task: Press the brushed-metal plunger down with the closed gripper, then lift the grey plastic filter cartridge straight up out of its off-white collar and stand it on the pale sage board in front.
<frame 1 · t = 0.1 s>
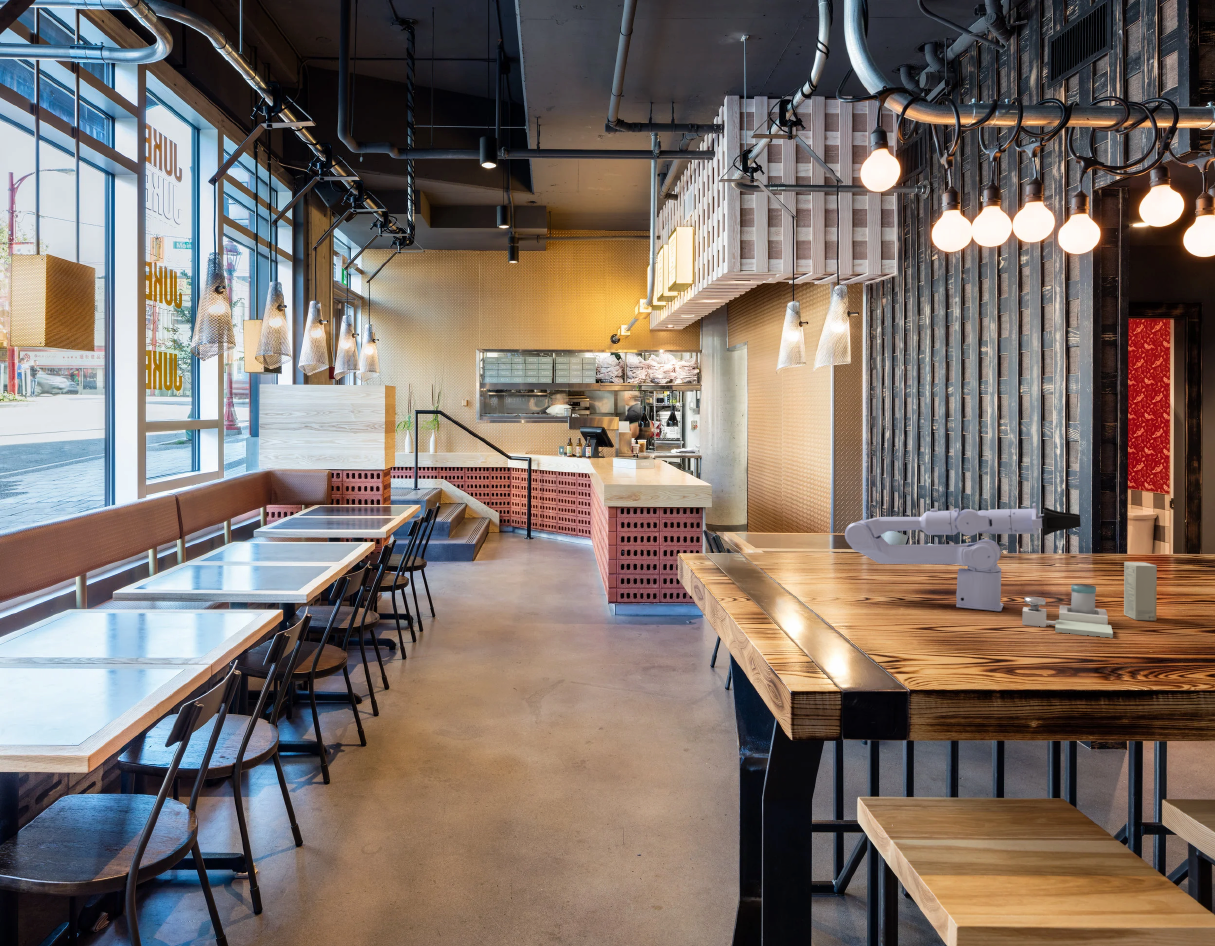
hand: (1080, 520, 177), 22 cm above the table, tool horizontal, fingers open, 7 cm apart
holder: (1082, 622, 173), on the table
plunger: (1034, 606, 171), point 4 cm above the table, slide at 0.0 cm
skincare box: (1139, 618, 177), on the table
cartridge: (1083, 604, 172), in the holder
pad: (1083, 631, 165), on the table
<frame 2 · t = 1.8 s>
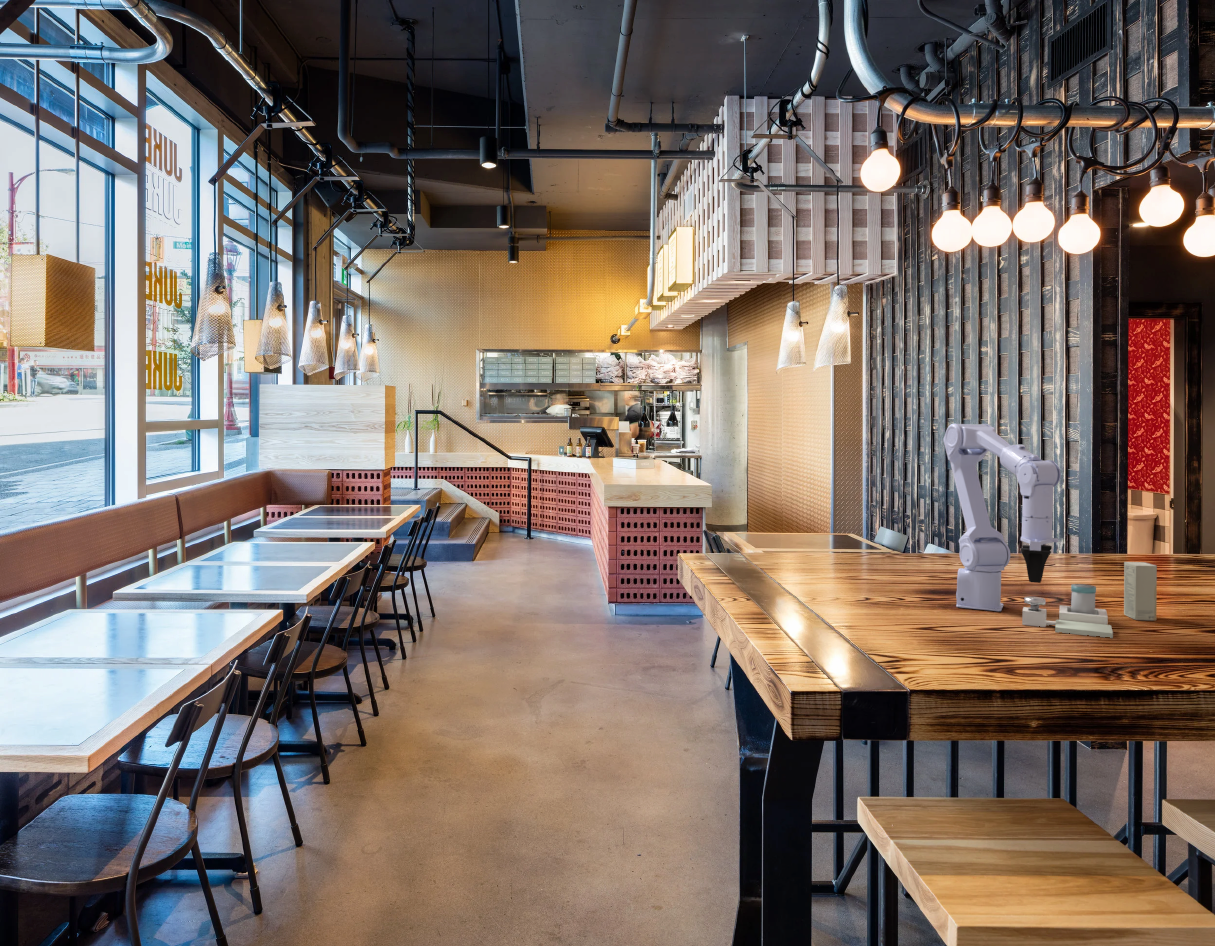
hand: (1035, 580, 171), 9 cm above the table, tool pointing down, fingers open, 5 cm apart
nothing on the table moved.
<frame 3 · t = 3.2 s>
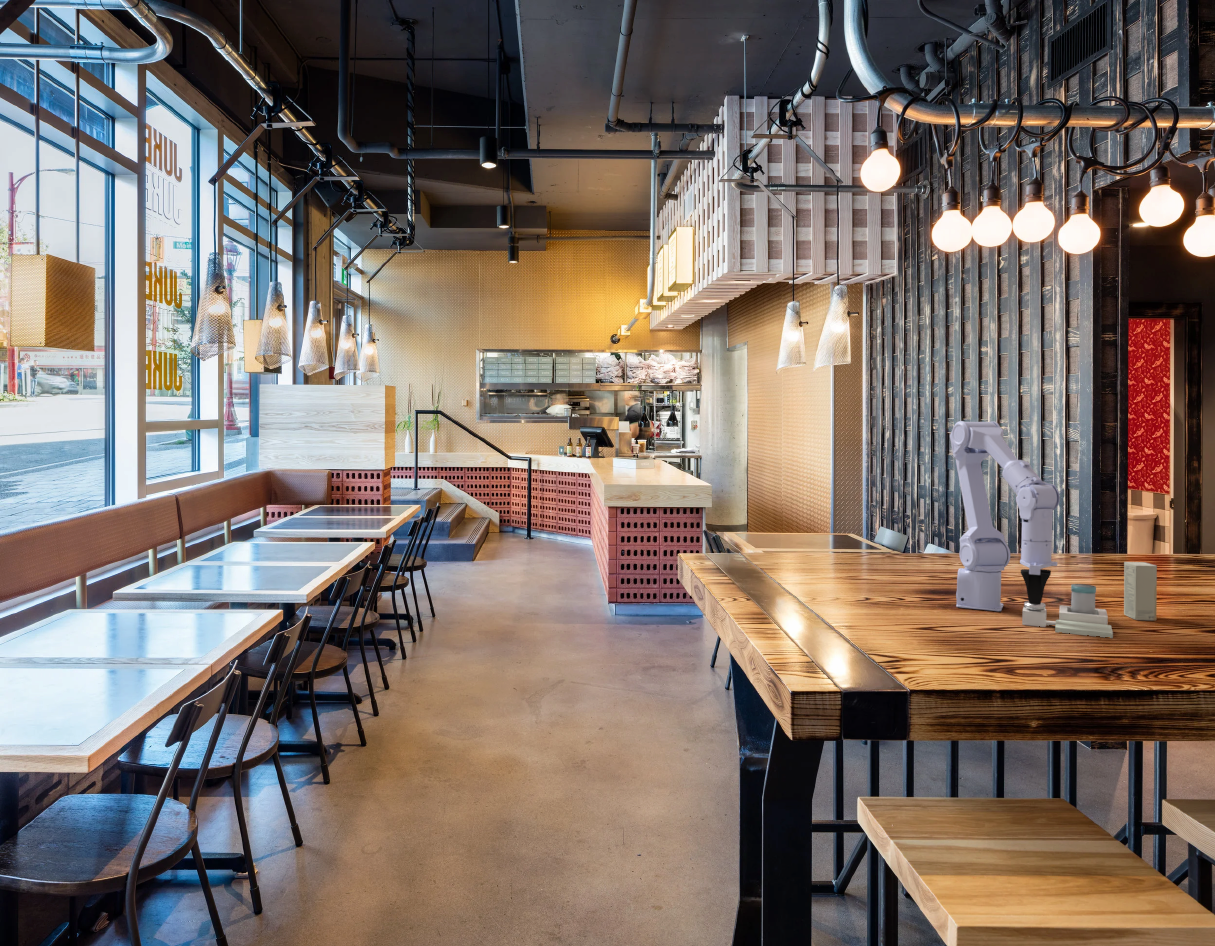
hand: (1034, 603, 171), 4 cm above the table, tool pointing down, fingers closed, pressing on plunger
plunger: (1034, 611, 171), point 3 cm above the table, slide at 1.1 cm, touching gripper
everything else where it was.
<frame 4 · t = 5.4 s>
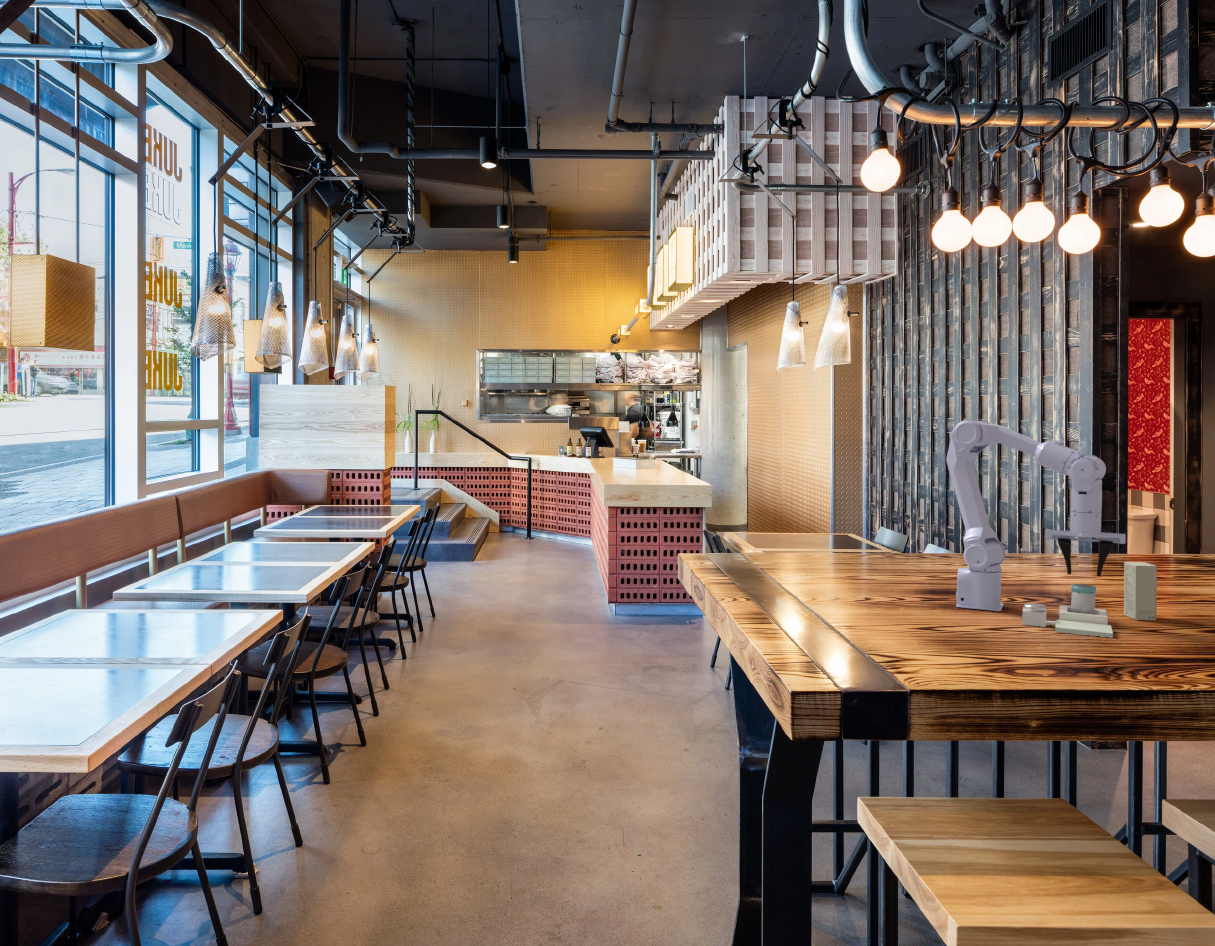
hand: (1083, 574, 172), 10 cm above the table, tool pointing down, fingers open, 5 cm apart
plunger: (1034, 613, 171), point 2 cm above the table, slide at 1.4 cm
everything else where it was.
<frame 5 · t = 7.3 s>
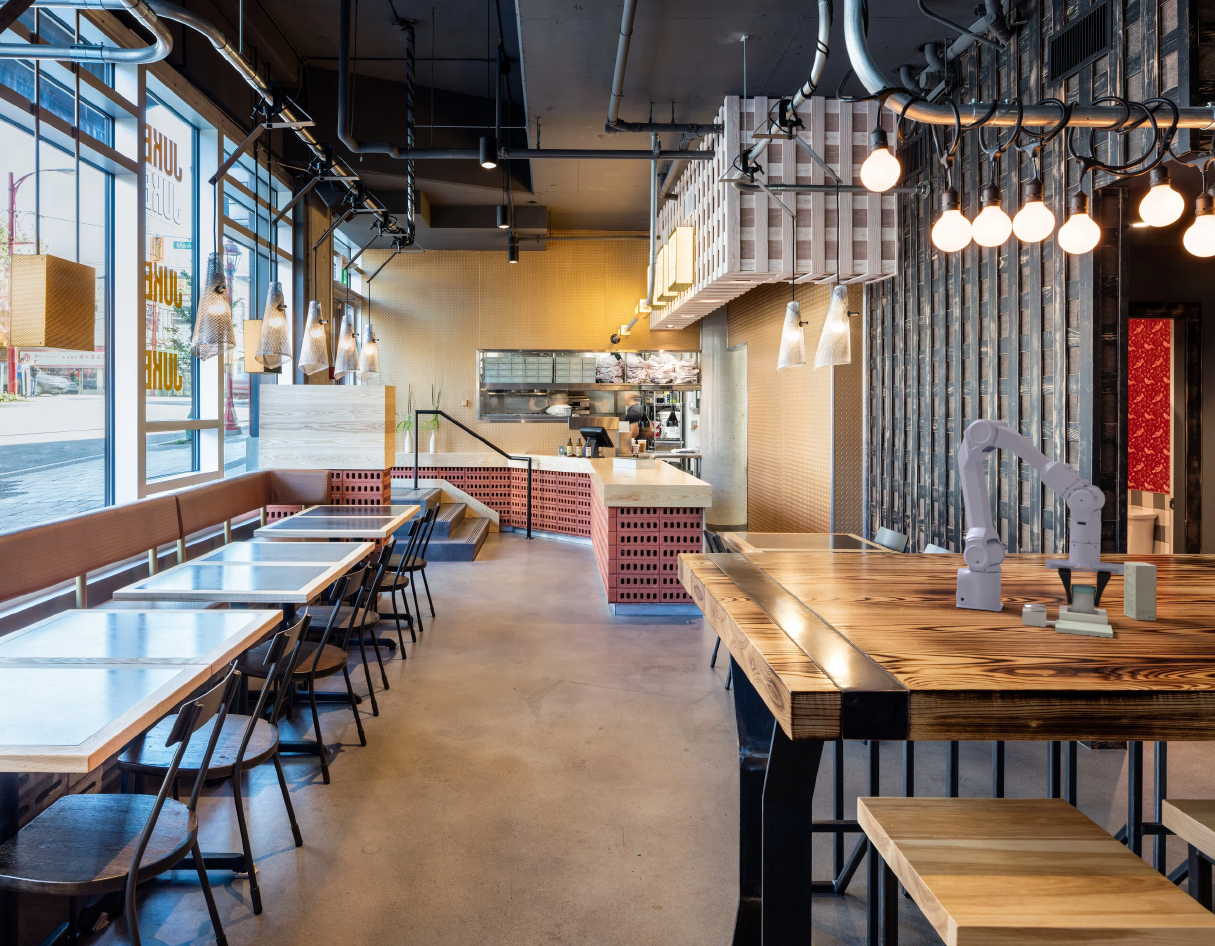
hand: (1083, 604, 172), 4 cm above the table, tool pointing down, fingers closed on cartridge, 4 cm apart
cartridge: (1083, 604, 172), in the holder, touching gripper
everything else where it was.
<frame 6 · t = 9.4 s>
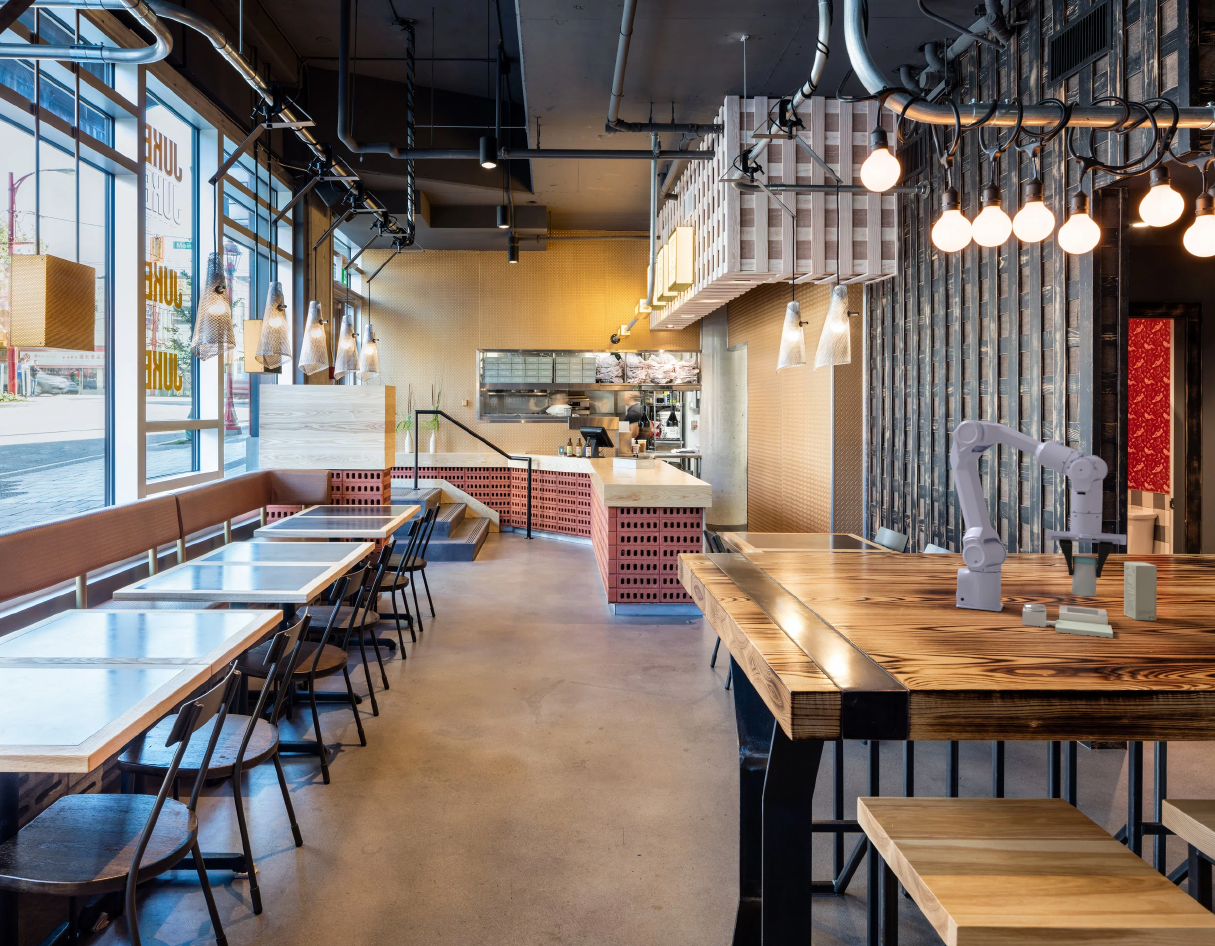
hand: (1084, 576, 170), 10 cm above the table, tool pointing down, fingers closed on cartridge, 4 cm apart
cartridge: (1084, 575, 170), point 10 cm above the table, touching gripper
everything else where it was.
when the fingers open (6 cm above the table, at t = 11.4 s): cartridge stays where it is, resting on pad.
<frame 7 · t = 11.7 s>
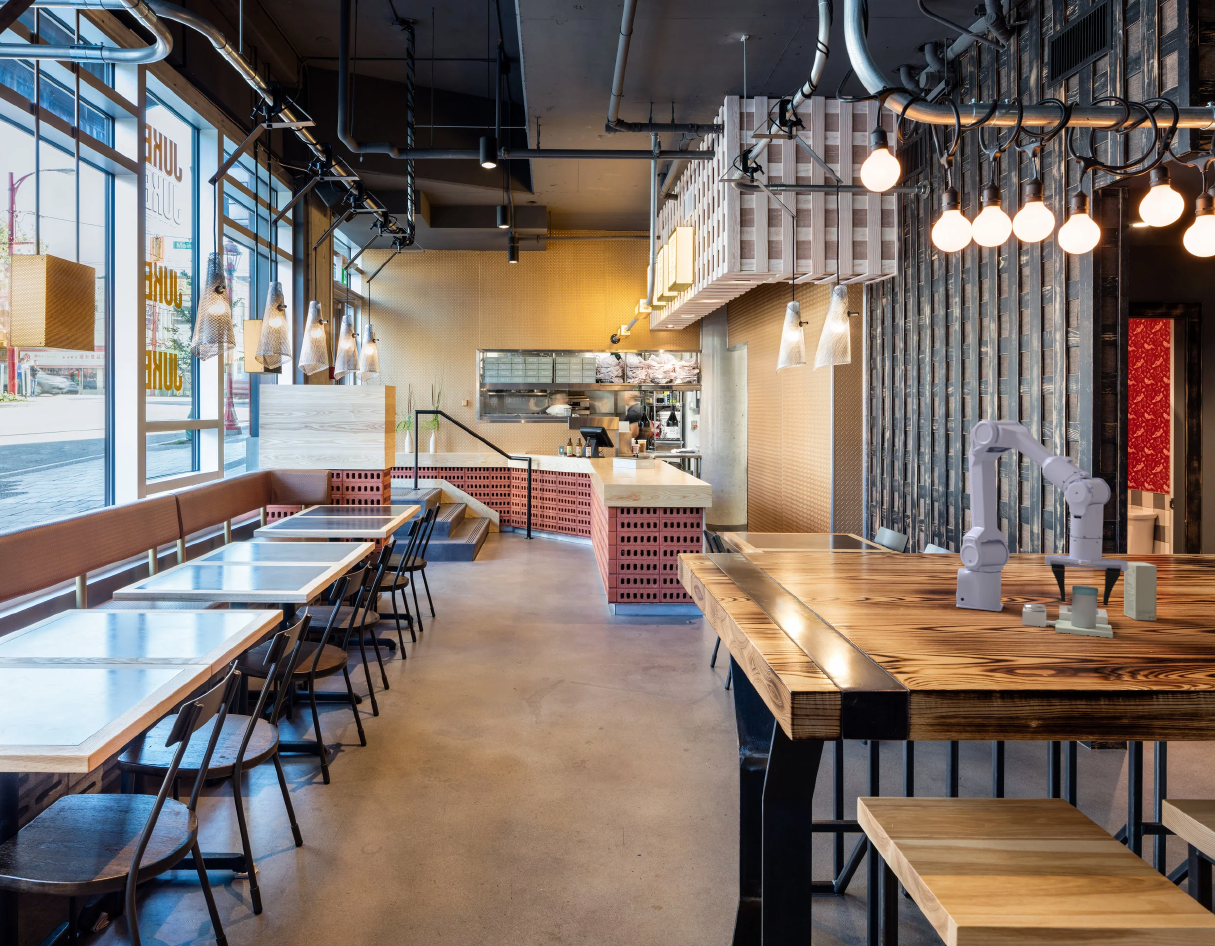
hand: (1084, 602, 165), 6 cm above the table, tool pointing down, fingers open, 7 cm apart
cartridge: (1084, 606, 165), on the pad, point 5 cm above the table
everything else where it was.
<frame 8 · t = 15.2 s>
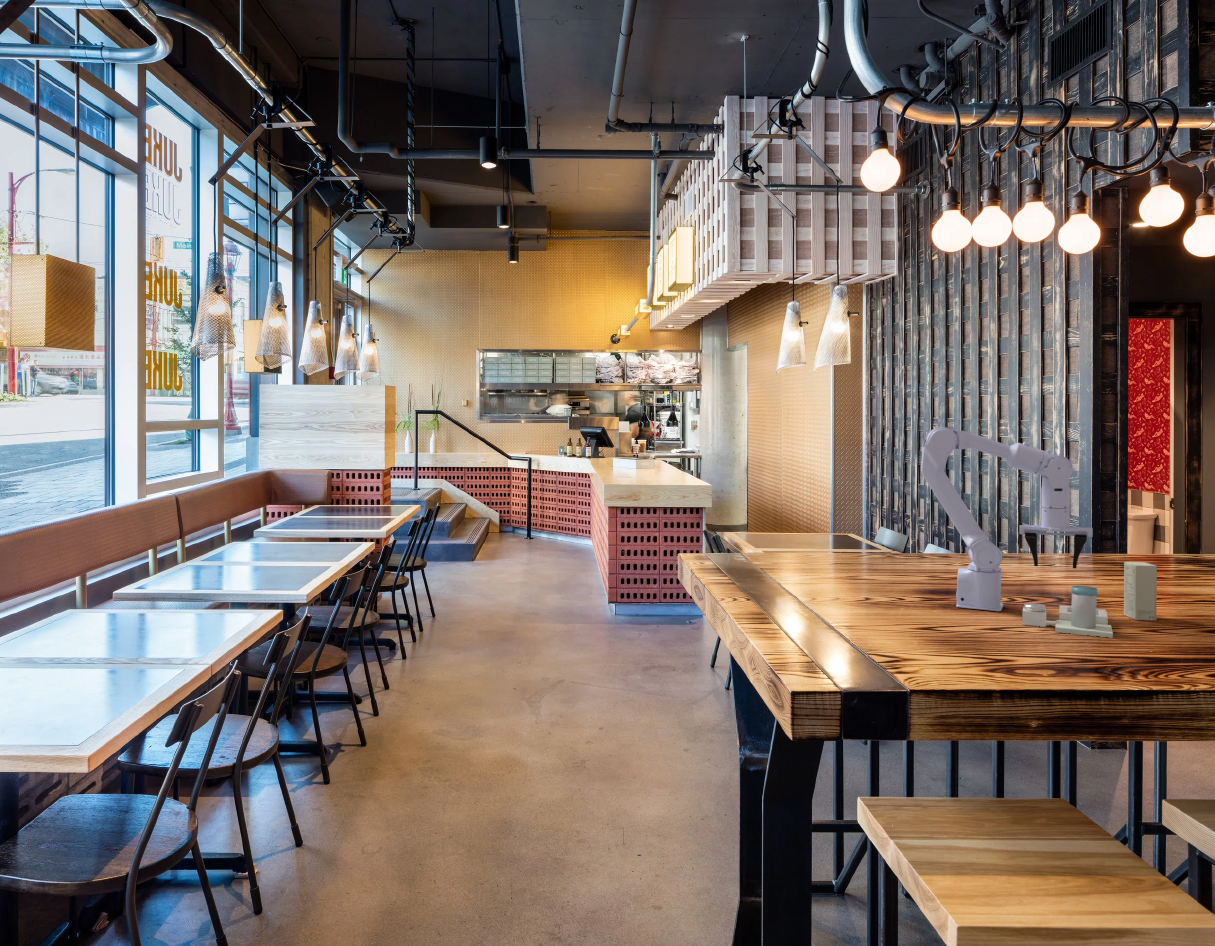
hand: (1055, 566, 183), 10 cm above the table, tool pointing down, fingers open, 7 cm apart
nothing on the table moved.
at the end: plunger slide at 1.4 cm; cartridge inside the target area on the pad (0.1 cm from its centre), point 5.0 cm above the pad's base; cartridge tilted 0° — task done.
